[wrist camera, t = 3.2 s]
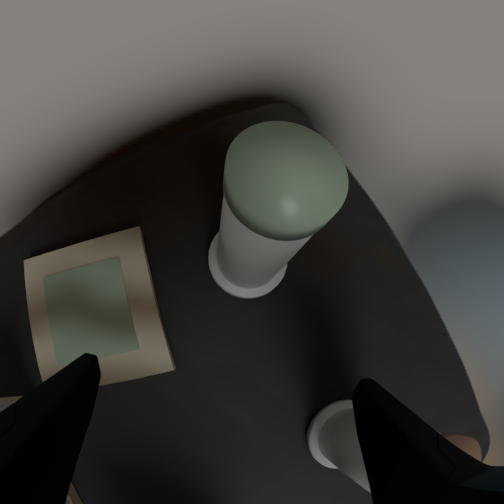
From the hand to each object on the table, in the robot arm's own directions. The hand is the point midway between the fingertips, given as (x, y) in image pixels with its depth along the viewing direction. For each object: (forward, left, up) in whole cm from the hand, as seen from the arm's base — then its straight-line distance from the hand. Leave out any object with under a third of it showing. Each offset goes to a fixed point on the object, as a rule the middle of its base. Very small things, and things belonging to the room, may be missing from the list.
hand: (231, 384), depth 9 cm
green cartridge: (+7, -4, -13) cm, 15 cm away
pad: (+6, +9, -13) cm, 16 cm away
